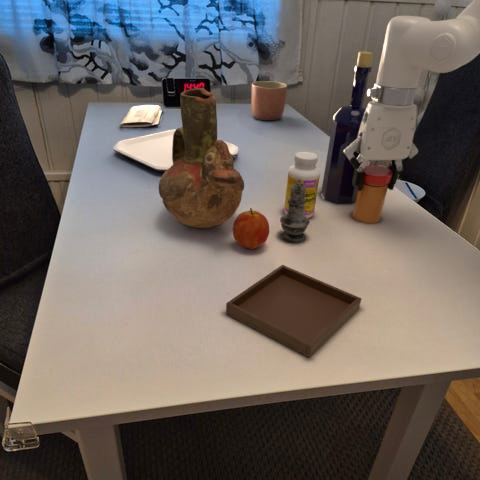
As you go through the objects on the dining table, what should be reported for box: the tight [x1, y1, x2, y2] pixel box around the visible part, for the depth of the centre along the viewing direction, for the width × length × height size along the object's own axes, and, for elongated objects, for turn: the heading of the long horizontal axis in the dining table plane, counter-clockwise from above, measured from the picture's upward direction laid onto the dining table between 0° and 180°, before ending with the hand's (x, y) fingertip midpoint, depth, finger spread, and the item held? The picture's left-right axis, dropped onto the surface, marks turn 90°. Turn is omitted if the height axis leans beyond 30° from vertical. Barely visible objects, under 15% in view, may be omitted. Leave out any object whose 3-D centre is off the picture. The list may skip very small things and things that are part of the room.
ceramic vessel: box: [158, 87, 245, 229], centre depth 85 cm, size 17×26×25 cm, turn 29°
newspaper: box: [119, 104, 163, 128], centre depth 155 cm, size 23×12×2 cm, turn 1°
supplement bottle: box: [283, 151, 321, 219], centre depth 95 cm, size 7×7×13 cm
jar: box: [352, 182, 389, 224], centre depth 96 cm, size 6×6×10 cm
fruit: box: [232, 207, 270, 250], centre depth 84 cm, size 7×7×8 cm
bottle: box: [320, 51, 374, 205], centre depth 98 cm, size 9×9×30 cm
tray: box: [225, 264, 362, 358], centre depth 70 cm, size 15×15×2 cm
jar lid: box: [363, 164, 393, 185], centre depth 93 cm, size 6×6×2 cm
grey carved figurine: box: [279, 179, 311, 244], centre depth 86 cm, size 6×6×12 cm
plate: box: [112, 128, 239, 173], centre depth 126 cm, size 29×29×2 cm
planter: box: [250, 80, 288, 121], centre depth 159 cm, size 12×12×11 cm
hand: (372, 187), depth 94 cm, fingers closed on jar lid, 6 cm apart
